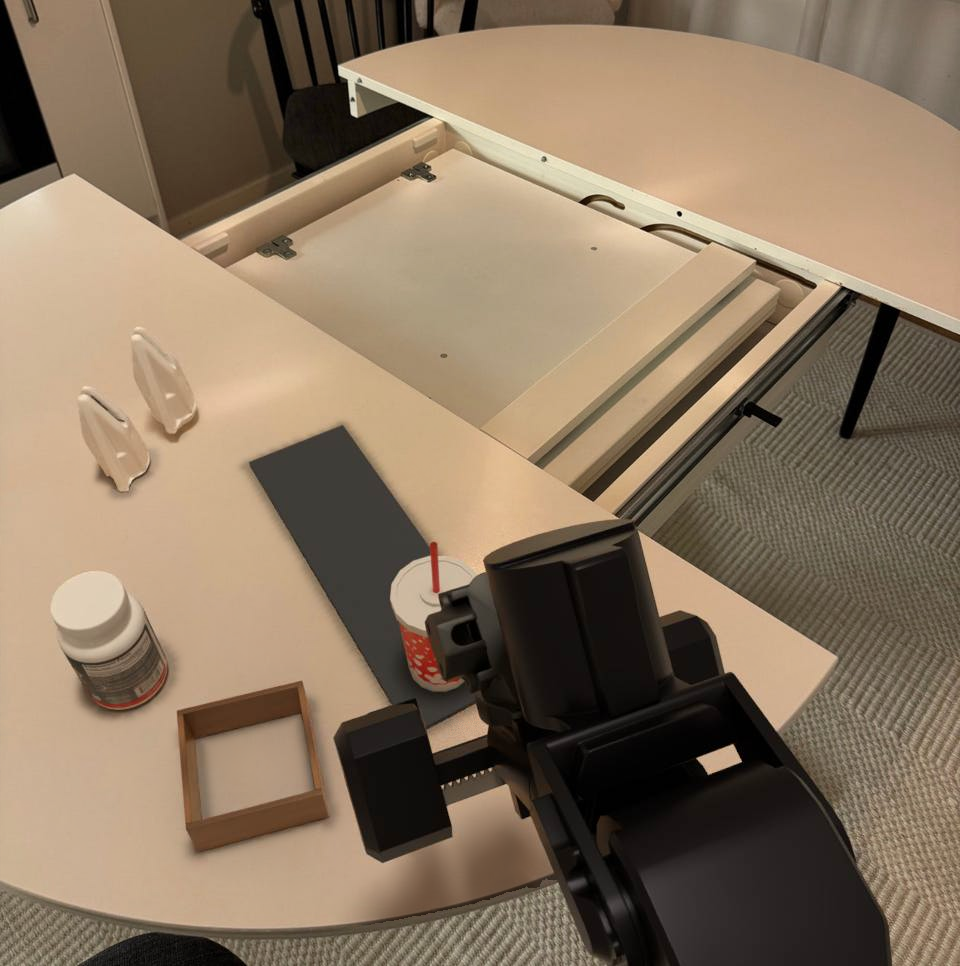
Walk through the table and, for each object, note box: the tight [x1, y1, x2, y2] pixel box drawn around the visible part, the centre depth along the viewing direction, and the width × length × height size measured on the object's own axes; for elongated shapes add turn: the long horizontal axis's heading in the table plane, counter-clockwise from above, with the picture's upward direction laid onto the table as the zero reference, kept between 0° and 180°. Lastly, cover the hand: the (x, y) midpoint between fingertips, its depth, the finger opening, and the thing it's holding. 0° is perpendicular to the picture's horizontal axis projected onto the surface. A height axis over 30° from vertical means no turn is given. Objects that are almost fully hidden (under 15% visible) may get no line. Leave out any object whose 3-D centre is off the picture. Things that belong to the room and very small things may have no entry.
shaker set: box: [77, 326, 198, 493], centre depth 81 cm, size 12×4×11 cm, turn 152°
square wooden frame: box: [176, 680, 330, 852], centre depth 63 cm, size 8×8×4 cm
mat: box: [248, 424, 476, 730], centre depth 76 cm, size 30×9×1 cm, turn 31°
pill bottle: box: [49, 570, 168, 710], centre depth 66 cm, size 6×6×10 cm
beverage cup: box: [390, 541, 478, 692], centre depth 64 cm, size 6×6×14 cm
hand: (494, 689), depth 54 cm, fingers open, 9 cm apart
